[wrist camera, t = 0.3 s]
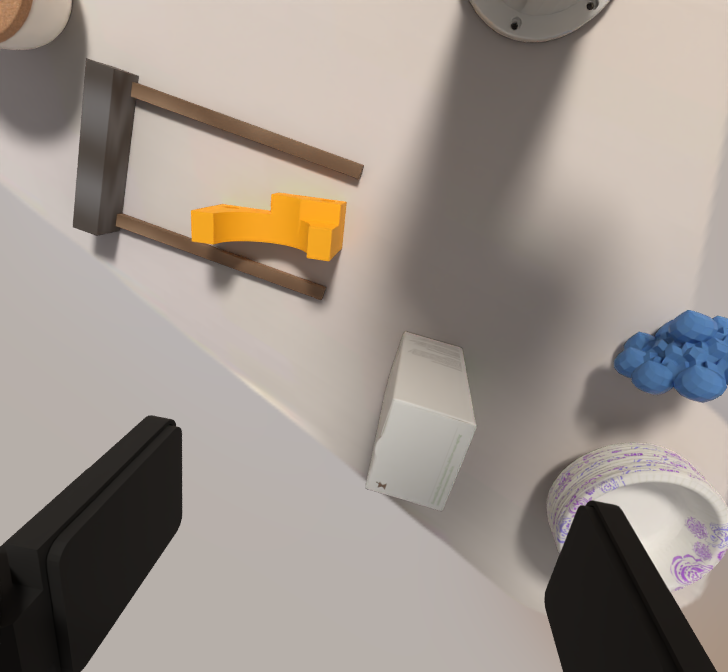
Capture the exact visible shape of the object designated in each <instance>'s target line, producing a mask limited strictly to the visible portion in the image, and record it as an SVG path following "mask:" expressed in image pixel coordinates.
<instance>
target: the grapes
mask: <svg viewBox="0 0 728 672" xmlns="http://www.w3.org/2000/svg"><path fill="white" fill-rule="evenodd" d="M614 368H615V369H616V370H617V371H618V373H620V374H622V375H624V376H626V377H628V378H631V381H632V383H633V384H634V385H635V386H636V387H637V388H638V389H640V390H642V391H644V392H646V393H649V394H653V395H660V394H663V393H665V392H667V391H669V390H670V389H672V388H673V387H674V388H675V389H676V391H677V392H678V393H679V394H680V395H682V396H684V397H686V398H688V399H690V400H694V401H697V402H702V403H704V402H708V401H711V400H714V399H716V398H717V397H719V396H721V395H722V394H723V393H724V391H725V390H726V388H727V386H726V384H727V385H728V318H725V317H721V316H716V317H714V318H710V317H708V316H706V315H703V314H701V313H698V312H695V311H691V310H687V311H685V312H683V313H682V314H680V315H679V316H678V317H676V318H675V319H674V320H671V321H669V322H668V323H666V324H665V325H663V326H662V327H661V328H660V329H659V330H658V331H657V333H656V334H655V336H652V335H650V334H646V333H642V332H638V333H636V334H635V335H633V336H632V337H631V338H629V339H628V341H627V342H626V344H625V345H624V350H623V351H622V352H621V353H619V354H618V356H617V357H616V359H615V360H614Z"/></svg>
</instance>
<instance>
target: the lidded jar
mask: <svg viewBox="0 0 728 672" xmlns="http://www.w3.org/2000/svg"><path fill="white" fill-rule="evenodd" d="M71 9H72V0H0V49H9V50H28V49H35V48H38V47H41V46H44V45H46V44H48V43H50V42H51V41H53V40H54V39H55V38H56V37H57V36H58V35H59V34H60V33H61V32H62V31H63V29H64V28H65V26H66V24H67V22H68V19H69V17H70V13H71Z"/></svg>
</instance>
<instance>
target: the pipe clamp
mask: <svg viewBox="0 0 728 672" xmlns="http://www.w3.org/2000/svg"><path fill="white" fill-rule="evenodd" d="M346 203H347V202H344V201H337V200H329V199H322V198H314V197H307V196H300V195H292V194H285V193H275V194H272V195H271V211H268V210H261V209H254V208H247V207H239V206H232V205H225V204H221V205H216V206H211V207H206V208H201V209H196V210H191V231H192V241H193V242H200V243H206V244H213V245H214V244H217V243H222V242H231V241H255V242H267V243H275V244H281V245H286V246H291V247H294V248H298V249H300V250H303V251H304V252H306V253H307V258H310V259H317V260H324V261H330V260H331V259H332V258H333V257H334V256H335V255H336V254H337V253H338V252H339V251H340V250H341V249H342V243H343V233H344V223H345V213H346Z"/></svg>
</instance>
